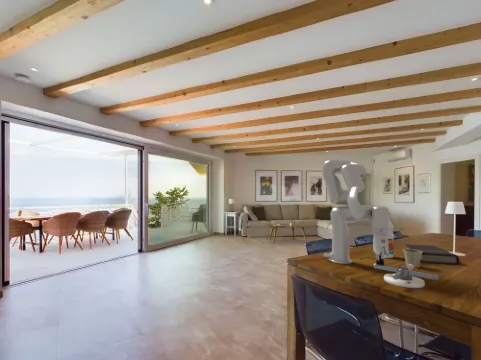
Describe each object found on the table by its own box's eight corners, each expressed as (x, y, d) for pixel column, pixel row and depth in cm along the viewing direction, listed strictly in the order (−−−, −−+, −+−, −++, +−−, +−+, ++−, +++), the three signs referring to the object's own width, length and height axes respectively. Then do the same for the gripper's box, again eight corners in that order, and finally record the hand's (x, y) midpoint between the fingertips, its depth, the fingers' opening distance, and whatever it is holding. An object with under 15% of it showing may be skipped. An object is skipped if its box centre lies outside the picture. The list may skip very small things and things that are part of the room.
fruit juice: (383, 254, 186) (383, 211, 187) (397, 257, 178) (396, 212, 179) (373, 255, 181) (374, 211, 182) (387, 258, 173) (387, 213, 174)
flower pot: (425, 269, 151) (425, 253, 151) (406, 268, 153) (406, 251, 153) (418, 264, 160) (418, 249, 160) (400, 263, 162) (400, 248, 162)
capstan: (432, 292, 110) (431, 280, 110) (362, 277, 128) (362, 266, 128) (444, 278, 128) (444, 268, 129) (382, 266, 147) (382, 257, 147)
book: (459, 265, 162) (459, 255, 162) (421, 262, 167) (421, 252, 167) (437, 255, 189) (437, 246, 190) (405, 252, 194) (405, 244, 194)
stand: (389, 286, 122) (389, 281, 122) (379, 275, 138) (379, 271, 138) (431, 289, 119) (431, 285, 119) (416, 278, 134) (416, 274, 134)
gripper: (393, 233, 132) (393, 273, 131) (383, 229, 147) (383, 265, 146) (375, 233, 134) (376, 272, 133) (368, 229, 148) (368, 264, 147)
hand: (380, 268), depth 139 cm, fingers closed
